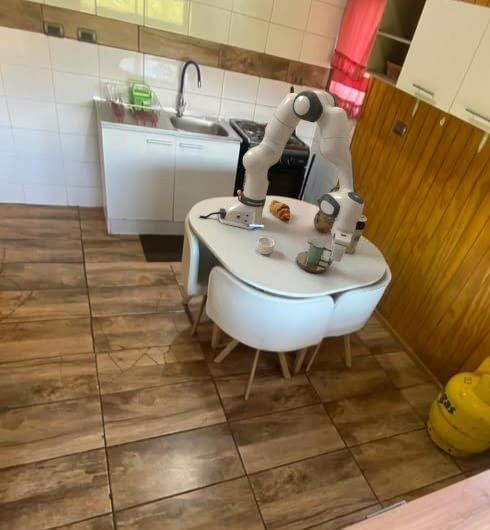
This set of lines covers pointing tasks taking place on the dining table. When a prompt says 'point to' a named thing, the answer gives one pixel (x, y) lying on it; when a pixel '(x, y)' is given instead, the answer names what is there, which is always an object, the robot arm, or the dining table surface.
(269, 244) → the teacup
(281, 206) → the croissant
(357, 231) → the travel mug
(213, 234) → the dining table surface
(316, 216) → the ceramic vessel
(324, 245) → the green mug on saucer
